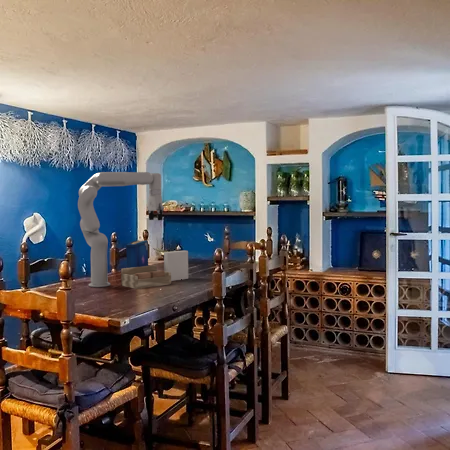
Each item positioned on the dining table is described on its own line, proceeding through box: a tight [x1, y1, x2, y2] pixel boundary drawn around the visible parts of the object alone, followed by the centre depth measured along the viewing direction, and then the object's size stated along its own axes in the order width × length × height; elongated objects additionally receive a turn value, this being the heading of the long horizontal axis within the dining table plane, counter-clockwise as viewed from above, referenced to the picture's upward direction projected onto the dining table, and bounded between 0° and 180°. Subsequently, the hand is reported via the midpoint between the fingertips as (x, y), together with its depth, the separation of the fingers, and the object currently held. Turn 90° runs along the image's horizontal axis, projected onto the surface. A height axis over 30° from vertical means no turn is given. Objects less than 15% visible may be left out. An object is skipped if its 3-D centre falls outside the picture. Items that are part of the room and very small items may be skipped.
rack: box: [120, 264, 172, 290], centre depth 296 cm, size 17×24×10 cm
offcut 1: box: [135, 272, 151, 280], centre depth 290 cm, size 4×8×8 cm, turn 132°
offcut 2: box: [150, 270, 165, 278], centre depth 297 cm, size 4×8×8 cm, turn 132°
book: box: [125, 239, 149, 268], centre depth 313 cm, size 22×7×25 cm, turn 168°
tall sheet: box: [163, 250, 189, 282], centre depth 315 cm, size 4×16×18 cm, turn 132°
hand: (155, 220), depth 312 cm, fingers open, 9 cm apart
